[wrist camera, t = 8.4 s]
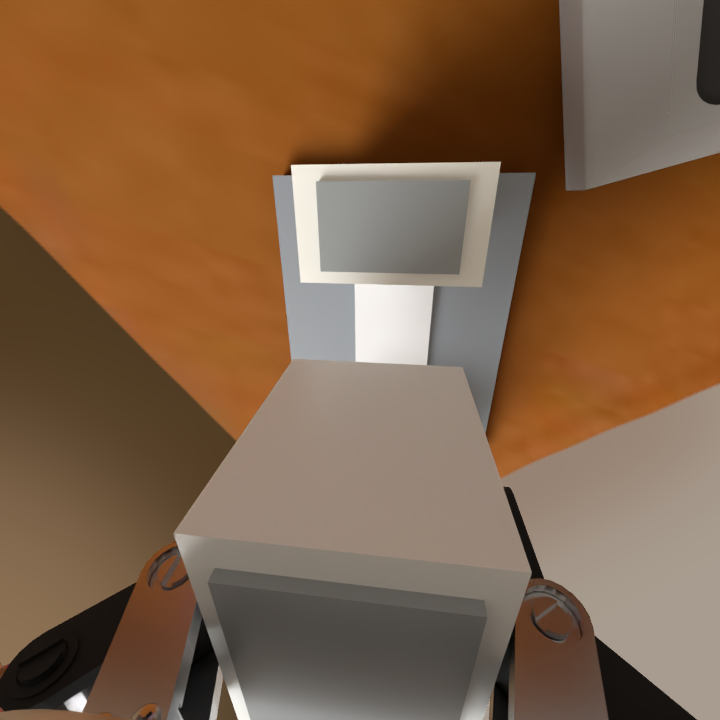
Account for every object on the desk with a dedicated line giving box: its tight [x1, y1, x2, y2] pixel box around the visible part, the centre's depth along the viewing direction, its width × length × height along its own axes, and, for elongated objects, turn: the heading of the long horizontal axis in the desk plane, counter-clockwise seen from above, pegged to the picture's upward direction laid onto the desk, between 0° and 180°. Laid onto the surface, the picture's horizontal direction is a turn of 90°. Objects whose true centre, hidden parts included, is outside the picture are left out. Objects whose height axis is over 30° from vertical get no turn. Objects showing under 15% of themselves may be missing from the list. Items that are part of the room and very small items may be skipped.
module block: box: [174, 359, 532, 720], centre depth 9 cm, size 5×7×6 cm
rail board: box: [273, 162, 536, 433], centre depth 17 cm, size 12×17×8 cm
